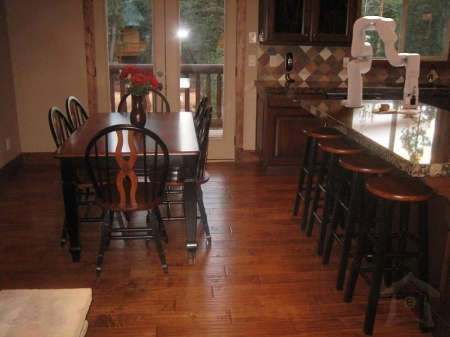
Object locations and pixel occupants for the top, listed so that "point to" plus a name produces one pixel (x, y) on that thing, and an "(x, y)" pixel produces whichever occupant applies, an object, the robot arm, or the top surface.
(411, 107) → the supplement box
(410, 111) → the mat
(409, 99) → the cap
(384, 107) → the tan round plate
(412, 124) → the top surface
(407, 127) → the top surface
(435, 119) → the top surface
